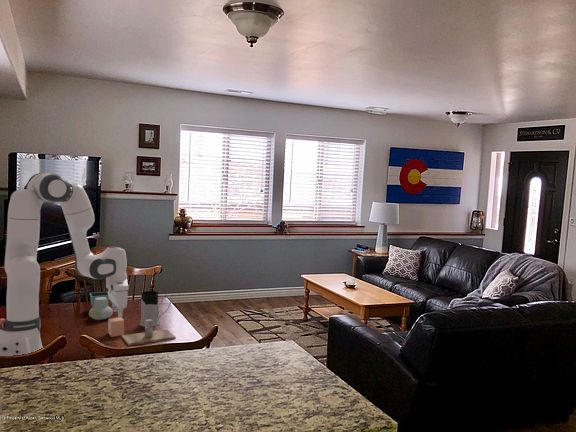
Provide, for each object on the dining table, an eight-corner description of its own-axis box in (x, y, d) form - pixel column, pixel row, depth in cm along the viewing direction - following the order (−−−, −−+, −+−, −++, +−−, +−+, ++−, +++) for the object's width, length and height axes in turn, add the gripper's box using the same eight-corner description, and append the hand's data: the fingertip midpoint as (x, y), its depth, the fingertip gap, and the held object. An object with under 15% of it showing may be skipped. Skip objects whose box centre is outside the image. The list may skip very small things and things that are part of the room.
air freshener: (115, 317, 250) (115, 297, 250) (105, 321, 242) (105, 301, 242) (96, 315, 253) (96, 295, 252) (85, 319, 245) (85, 299, 244)
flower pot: (89, 309, 263) (89, 292, 262) (107, 308, 267) (107, 291, 266) (90, 314, 255) (90, 296, 254) (109, 312, 259) (109, 295, 258)
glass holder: (139, 322, 243) (139, 291, 242) (169, 320, 248) (170, 289, 247) (140, 327, 235) (140, 295, 234) (171, 325, 240) (172, 293, 239)
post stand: (128, 345, 210) (128, 326, 209) (121, 337, 220) (121, 319, 219) (175, 338, 220) (175, 320, 219) (166, 331, 230) (167, 314, 230)
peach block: (111, 336, 221) (111, 321, 220) (108, 333, 225) (108, 318, 225) (124, 334, 223) (124, 320, 223) (121, 331, 228) (121, 317, 228)
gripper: (104, 279, 230) (105, 309, 231) (114, 288, 213) (115, 320, 214) (118, 277, 233) (119, 307, 235) (129, 286, 216) (130, 318, 217)
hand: (117, 313), depth 224 cm, fingers open, 8 cm apart
